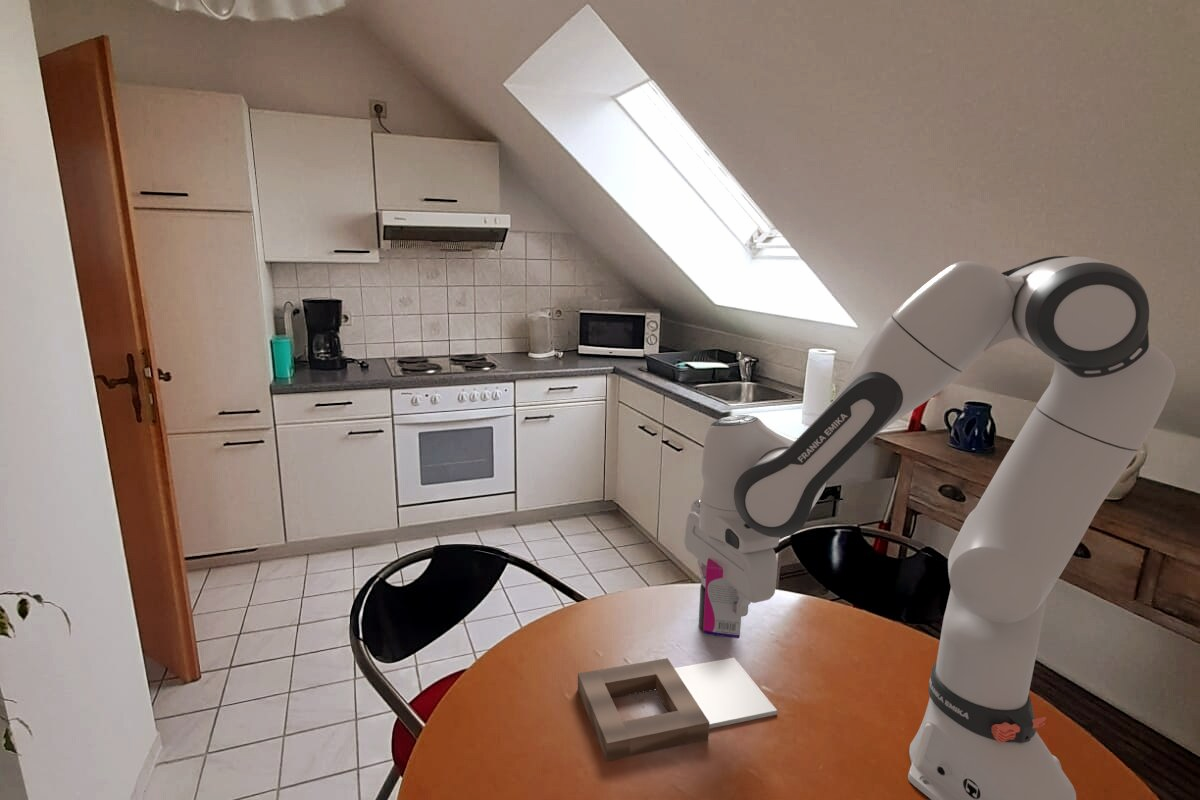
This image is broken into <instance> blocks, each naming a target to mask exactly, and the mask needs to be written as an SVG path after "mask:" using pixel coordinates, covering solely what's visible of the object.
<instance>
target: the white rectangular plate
mask: <svg viewBox="0 0 1200 800" xmlns="http://www.w3.org/2000/svg"><path fill="white" fill-rule="evenodd" d="M674 669H675V670H676V672H677V673H678V675H679V676H680V678H681V680H682V681H683V683H684V684H685V686H686V687H687V689H688V690H689V692H690V693H691V695H692V696H693V698H694V699H695V701H696V702H697V704H698V706H699V707H700V709H701V710H702V712H703V713H704V715H705V716H706V718H707V719H708V721H709V730H710V729H714V728H719V727H724V726H729V725H733V724H738V723H743V722H747V721H753V720H757V719H761V718H763V719H764V718H766V717H767V718H768V717H772V716H776V715H777V714H778V709H777V708H776V706H774V704H773V703H772V702H771V701H770V699H768V697H767V696H766V695H765V693H763V691H762V690H761V689H760V688H759V686H758V685H757V684H756V682H754V680H753V679H752V678H751V676H750V675H749V674H748V672H746V670H745V669H744V668H743V667H742V666H741V664H740V663H739V662H738V660H737V659H736V658H735V657H730V658H725V659H717V660H713V661H708V662H707V661H706V662H702V663H697V664H696V663H695V664H690V665H685V666H680V667H674Z"/></svg>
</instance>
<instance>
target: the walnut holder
mask: <svg viewBox="0 0 1200 800" xmlns="http://www.w3.org/2000/svg"><path fill="white" fill-rule="evenodd" d="M674 668H675V667H674V666H673V664H672V663H671V661H670V660H669V658H668V657H667V658H661V659H655V660H649V661H642V662H638V663H632V664H627V665H626V664H625V665H619V666H614V667H608V668H601V669H597V670H590V671H584V672H578V673H577V691H578V694H579V697H580V698H581V701H582V703H583V707H584V708H585V711H586V713H587V716H588V719H589V720H590V723H591V726H592V729H593V730H594V734H595V736H596V738H597V741H598V744H599V746H600V749H601V751H602V754H603V757H604V759H605V760H606V762H610V761H614V760H619V759H624V758H627V757H628V758H629V757H633V756H637V755H641V754H646V753H647V754H648V753H652V752H657V751H662V750H666V749H671V748H674V747H675V748H676V747H680V746H684V745H688V744H693V743H699V742H703V741H708V740H709V735H710V734H709V732H710V729H709V721H708V719H707V718H706V716H705V715H704V713H703V712H702V710H701V709H700V707H699V706H698V704H697V702H696V701H695V699H694V698H693V696H692V695H691V693H690V692H689V690H688V689H687V687H686V686H685V684H684V683H683V681H682V680H681V678H680V676H679V675H678V673H677V672H676V670H675V669H674ZM654 689H656V690H654ZM649 690H652V691H655V692H656V691H657V692H656V694H657V696H658V697H659V696H660V697H659V699H660V698H661V699H660V700H661V702H662V704H663V706H664V705H665V706H664V707H665V709H666V710H667V712H666V713H660V714H655V715H650V716H645V717H639V718H634V719H629V720H625V721H623V719H622V717H621V715H620V713H619V711H618V709H617V707H616V705H615V702H614V700H613V699H614V698H618V697H624V696H630V695H629V694H631V695H635V693H636V694H640V693H639V692H642V693H646V692H645V691H647V692H650V691H649ZM643 691H644V692H643Z"/></svg>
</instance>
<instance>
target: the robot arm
mask: <svg viewBox="0 0 1200 800" xmlns="http://www.w3.org/2000/svg"><path fill="white" fill-rule="evenodd" d="M1149 320H1150V303H1149V298H1148V295H1147V293H1146V291H1145V288H1144V287H1143V285H1142V284H1141V283H1140V281H1139V280H1138V279H1137V278H1136V277H1135V276H1134V275H1133V274H1131V273H1130V272H1129V271H1127V270H1126V269H1124V268H1121V267H1119V266H1117V265H1113V264H1110V263H1108V262H1105V261H1103V260H1100V259H1097V258H1093V257H1087V256H1079V255H1078V256H1075V255H1074V256H1068V255H1056V256H1050V257H1049V256H1047V257H1044V258H1043V257H1042V258H1040V259H1037V260H1034V261H1031V262H1028V263H1025V264H1023V265H1021V266H1018V267H1015V268H1012V269H1008V270H1006V271H1003V272H1001V271H999V270H997V269H996V268H994V267H993V266H991V265H988V264H985V263H982V262H978V261H971V260H963V261H958V262H954V263H952V264H950V265H949V266H947V267H946V268H944V269H942V270H941V271H940V272H938V273H937V274H936V275H935V276H933V277H932V278H931V279H929V280H928V281H927V282H925V284H922V286H921V287H920V288H918V289H917V290H916V291H915V292H914V293H913V294H911V295H910V296H909V297H908V298H907V299H906V300H905V301H904V302H903V303H901V305H900V306H899V307H898V308H897V309H895V311H894V312H893V313H892V314H891V315H890V316H889V317H888V318H887V319H886V320H885V322H884V323H882V325H881V326H880V327H879V328H878V329H877V331H876V332H875V334H874V335H872V337H871V338H870V340H869V341H868V343H866V346H865V347H864V349H863V350H862V351H861V353H860V355H859V356H858V358H857V360H856V361H855V363H854V365H853V367H852V368H851V370H850V372H849V374H848V376H847V377H846V379H845V381H844V382H843V385H842V386H841V388H840V389H839V391H838V393H837V394H836V396H835V397H834V398H833V400H832V401H831V403H830V404H829V405H828V406H827V407H826V409H825V410H824V411H823V412H822V413H821V414H820V415H819V416H818V417H817V418H816V419H815V420H814V421H813V422H812V423H811V425H810V426H808V427H807V428H806V429H805V431H804V432H802V434H801V435H799V437H798V438H797V439H796V440H795V441H794V440H791V439H790V438H787V437H784V436H782V435H781V434H779V433H777V432H775V431H774V430H772V429H771V428H770V427H768V426H767V425H766V424H765V423H763V421H761V419H760V418H758V417H757V416H754V415H748V414H735V415H729V416H726V417H725V416H724V417H721V418H719V419H717V420H714V422H712V423H711V424H710V425H709V426H708V428H707V430H706V434H705V436H704V437H705V438H704V444H703V449H702V451H703V452H702V461H701V476H702V480H703V486H702V490H701V492H700V498H698V499H696V500H694V502H693V503H692V504H691V505H690V508H691V509H690V512H689V513H688V515H687V518H686V523H685V529H684V539H683V541H684V547H685V549H686V551H687V552H688V553H690V554H691V555H692V556H693V557H695V558H696V559H697V566H698V569H699V573H700V575H701V577H700V578H701V579H700V585H701V584H702V585H703V586H704V587H705V585H706V567H707V561H708V558H710V559H711V560H712V561H714V562H715V563H717V564H718V565H719V566H720V567H722V568H723V579H724V581H726V582H727V583H728V584H729V585H731V586H732V587H733V588H734V589H735V590H737V591H738V597H740V598H739V600H738V602H733V612H734V613H735V614H736V615H738V616H739V617H741V618H742V617H746V616H747V615H748V614H749V606H750V605H751V603H753V604H755V603H760V602H765V601H768V600H770V599H772V598H773V596H774V595H775V593H776V589H777V587H776V586H777V575H778V558H777V554H776V551H775V550H774V549H775V548H777V547H778V546H779V543H780V538H785V537H790V536H792V535H794V534H796V533H797V532H799V531H800V530H801V529H802V528H803V527H804V526H805V524H806V522H807V520H808V518H809V517H810V515H811V512H812V510H813V508H814V507H815V505H816V504H817V502H818V501H819V499H820V498H821V496H822V494H823V492H824V490H825V488H826V487H827V484H828V481H829V480H830V479H831V478H832V477H833V476H835V475H836V474H837V472H838V471H839V470H840V469H841V468H842V467H843V466H844V465H846V464H847V462H849V461H850V460H851V459H852V458H853V457H854V455H856V454H857V453H858V452H859V451H860V450H861V449H862V448H863V447H864V446H865V445H866V444H867V443H868V442H869V441H871V439H873V438H874V437H876V436H877V435H878V434H879V433H881V432H882V431H883V430H885V429H887V428H888V427H889V426H891V425H892V424H894V423H896V422H897V421H898V420H900V419H902V418H903V417H904V416H906V415H908V414H909V413H910V412H912V411H914V410H915V409H917V408H918V407H920V406H921V405H923V404H925V403H926V402H928V401H929V400H930V399H932V398H933V397H935V396H936V395H937V394H939V393H940V392H941V391H942V390H944V389H945V388H946V387H947V386H949V385H950V384H952V383H953V382H954V381H955V380H957V378H958V377H959V376H961V375H962V374H963V372H965V371H966V370H967V369H968V368H969V367H970V366H971V365H972V364H973V363H974V362H975V361H976V360H977V358H979V357H980V356H981V355H982V353H984V352H986V351H988V350H989V349H991V348H993V347H994V346H996V345H998V344H1001V343H1003V342H1005V341H1009V340H1015V339H1021V340H1023V341H1025V342H1026V343H1028V344H1029V345H1031V346H1032V347H1034V348H1036V349H1038V350H1040V351H1041V352H1043V354H1045V355H1046V356H1048V357H1049V358H1051V359H1053V360H1054V368H1053V374H1052V377H1051V379H1050V381H1049V382H1050V384H1049V385H1048V387H1047V388H1046V389H1045V390H1044V392H1043V393H1042V395H1041V397H1040V399H1038V402H1037V403H1036V404H1035V407H1034V408H1033V409H1032V412H1031V413H1030V414H1029V416H1028V418H1027V419H1026V421H1025V423H1024V425H1023V427H1022V428H1021V430H1020V431H1019V433H1018V435H1017V436H1016V438H1015V440H1014V442H1013V443H1012V444H1011V446H1010V448H1009V450H1007V452H1006V455H1005V456H1004V458H1003V460H1002V461H1001V463H1000V464H999V466H998V468H997V470H996V472H995V474H994V475H993V477H992V478H991V481H990V482H989V484H988V486H987V487H986V489H985V491H984V492H983V494H982V496H981V497H980V500H979V501H978V502H977V505H976V506H975V508H974V509H973V510H972V511H971V512H969V514H968V516H967V517H966V518H965V521H964V522H963V525H962V526H961V528H960V531H959V533H958V534H957V537H956V539H955V541H954V542H953V545H952V547H950V551H949V553H948V554H949V555H948V560H947V569H948V570H947V572H948V579H949V584H950V590H949V593H948V594H949V595H948V599H947V603H946V608H945V611H944V615H943V619H942V626H941V631H940V639H939V644H938V651H937V657H936V662H934V664H933V665H932V668H931V673H930V677H929V681H928V696H929V699H928V703H927V706H926V709H925V714H924V716H923V719H922V721H921V724H920V726H919V728H918V731H917V733H916V734H915V736H914V738H913V739H912V740H911V742H910V744H909V753H908V754H909V758H910V762H911V765H910V768H909V771H908V773H907V774H908V775H907V779H908V781H909V782H910V783H911V784H912V785H913V786H914V787H915V788H917V790H918V791H920V792H921V793H922V794H924V795H925V796H926V797H928V798H929V800H1077V793H1076V790H1075V788H1074V785H1073V784H1072V782H1071V781H1070V779H1069V778H1068V777H1067V774H1066V773H1065V772H1064V771H1063V769H1062V764H1061V762H1060V760H1059V758H1058V757H1057V756H1055V755H1053V754H1052V753H1051V751H1050V750H1049V749H1048V747H1047V746H1046V744H1045V742H1044V740H1043V739H1042V737H1040V734H1039V733H1038V732H1037V729H1038V728H1041V727H1043V726H1045V725H1046V722H1045V721H1046V720H1047V717H1046V716H1042V717H1038V718H1036V717H1035V714H1034V708H1033V705H1032V704H1033V703H1032V700H1031V696H1030V694H1029V693H1030V690H1031V689H1030V688H1031V683H1032V679H1033V673H1034V668H1035V664H1036V663H1035V662H1036V659H1037V658H1036V657H1037V653H1038V650H1039V648H1038V647H1039V642H1040V638H1041V631H1042V627H1043V620H1044V615H1045V610H1046V604H1047V599H1048V595H1049V594H1050V592H1051V591H1052V589H1053V588H1054V586H1055V584H1056V583H1057V581H1058V580H1059V578H1060V577H1061V574H1062V573H1063V571H1064V570H1065V568H1066V567H1067V565H1068V563H1069V562H1070V560H1071V558H1072V556H1073V555H1074V553H1075V552H1076V550H1077V548H1078V546H1079V545H1080V544H1081V541H1082V539H1083V537H1084V536H1085V534H1086V532H1087V531H1088V529H1089V526H1090V525H1091V523H1092V522H1093V520H1094V517H1095V516H1096V514H1097V512H1098V510H1099V509H1100V507H1101V506H1102V504H1103V503H1104V501H1105V500H1106V498H1107V497H1108V495H1109V494H1110V492H1111V491H1113V490H1112V489H1113V488H1114V487H1115V485H1116V484H1117V482H1118V481H1119V480H1120V479H1121V476H1122V475H1123V473H1124V472H1125V471H1126V469H1127V468H1128V467H1129V465H1130V464H1131V463H1132V461H1133V459H1134V458H1135V456H1136V455H1137V453H1138V452H1139V451H1140V449H1141V448H1142V447H1143V445H1144V443H1145V441H1147V438H1148V437H1149V435H1150V433H1151V432H1152V430H1153V429H1154V427H1155V425H1156V423H1157V422H1158V420H1159V418H1160V417H1161V413H1162V412H1163V410H1164V408H1165V406H1166V403H1167V401H1168V398H1169V396H1170V394H1171V391H1172V389H1173V387H1174V383H1175V381H1176V380H1175V379H1176V368H1175V365H1174V364H1173V362H1172V360H1171V359H1170V358H1169V356H1167V354H1165V353H1164V352H1163V351H1162V350H1160V349H1159V348H1157V347H1156V346H1154V345H1152V344H1150V340H1149V339H1150V336H1149V322H1150V321H1149Z"/></svg>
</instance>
